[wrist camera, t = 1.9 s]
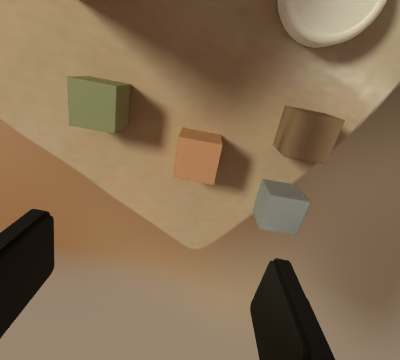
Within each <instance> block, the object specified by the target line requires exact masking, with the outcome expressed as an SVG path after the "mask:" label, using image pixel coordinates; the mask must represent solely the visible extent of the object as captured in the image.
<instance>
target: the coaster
mask: <svg viewBox="0 0 400 360" xmlns="http://www.w3.org/2000/svg"><path fill="white" fill-rule="evenodd" d="M386 2H387V0H277V5H278V12H279V16H280V20H281V22H282V25H283V26H284V28H285V30H286V31H287V33H288V34H289V35H290V36H291V37H292V38H293V39H294V40H295V41H296V42H298V43H300V44H302V45H304V46H307V47H313V48H320V47H327V46H331V45H336V44H339V43H343V42H345V41H348V40H350V39H351V38H353V37H355V36H357V35H358V34H359V33H361V32H362V31H363V30H365V29H366V28H367V27H368V26H369V25H370V24H371V23H372V22H373V21H374V20H375V19H376V17H377V16H378V15H379V13H380V12H381V11H382V9H383V7H384V6H385V4H386Z"/></svg>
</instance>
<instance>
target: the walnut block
mask: <svg viewBox="0 0 400 360" xmlns="http://www.w3.org/2000/svg"><path fill="white" fill-rule="evenodd" d="M344 121H345V120H343V119H340V118H337V117H334V116H331V115H328V114H325V113H320V112H315V111H310V110H305V109H300V108H294V107H289V106H285V108H284V111H283V114H282V117H281V120H280V124H279V127H278V130H277V133H276V136H275V140H274V143H273V145H274V146H275V147H276V149H277V150H278V151H279V152H280V153H281V154H282V155H283V156H285V157H290V158H295V159H301V160H306V161H312V162H317V163H322V164H327V161H328V159H329V157H330V155H331V152H332V150H333V147H334V145H335V143H336V140H337V138H338V136H339V133H340V131H341V128H342V126H343V124H344Z"/></svg>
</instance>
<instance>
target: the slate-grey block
mask: <svg viewBox="0 0 400 360" xmlns="http://www.w3.org/2000/svg"><path fill="white" fill-rule="evenodd" d="M309 204H310V201H309V200H308V199H307V197H306V196H305V195H304V194H303V192H302V191H301V190H300V189H299V187H298V186H297V185H294V184H287V183H282V182H276V181H271V180H265V179H262V181H261V184H260V188H259V191H258V194H257V197H256V200H255V203H254V207H253V212H254V215H255V218H256V221H257V224H258V227H259V229H263V230H268V231H274V232H280V233H286V234H292V235H297V233H298V231H299V228H300V226H301V224H302V221H303V219H304V216H305V214H306V212H307V209H308V207H309Z"/></svg>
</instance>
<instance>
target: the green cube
mask: <svg viewBox="0 0 400 360" xmlns="http://www.w3.org/2000/svg"><path fill="white" fill-rule="evenodd" d="M67 83H68V108H69V125H70V126H75V127H81V128H86V129H92V130H97V131H102V132H108V133H113V134H115V133H117V132H118V131H120V130H121V129H123V128H125V127H126V126H128V121H129V104H130V88H131V84H126V83H121V82H116V81H111V80H106V79H100V78H95V77H90V76H73V77H67Z"/></svg>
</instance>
